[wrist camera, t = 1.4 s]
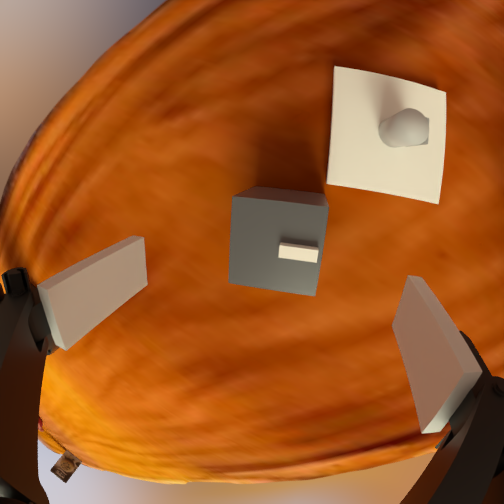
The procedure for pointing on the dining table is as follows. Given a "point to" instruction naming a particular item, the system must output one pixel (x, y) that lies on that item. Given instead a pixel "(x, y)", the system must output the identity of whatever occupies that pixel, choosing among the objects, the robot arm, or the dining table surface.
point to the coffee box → (66, 466)
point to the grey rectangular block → (277, 239)
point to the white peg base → (386, 135)
